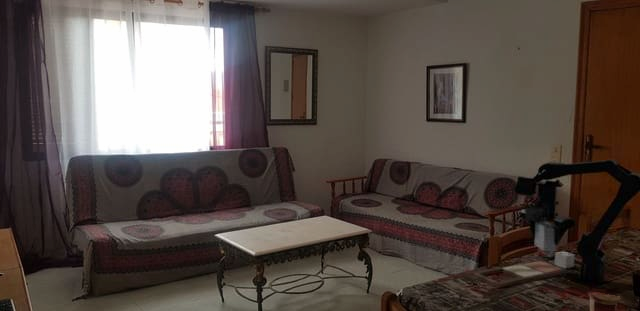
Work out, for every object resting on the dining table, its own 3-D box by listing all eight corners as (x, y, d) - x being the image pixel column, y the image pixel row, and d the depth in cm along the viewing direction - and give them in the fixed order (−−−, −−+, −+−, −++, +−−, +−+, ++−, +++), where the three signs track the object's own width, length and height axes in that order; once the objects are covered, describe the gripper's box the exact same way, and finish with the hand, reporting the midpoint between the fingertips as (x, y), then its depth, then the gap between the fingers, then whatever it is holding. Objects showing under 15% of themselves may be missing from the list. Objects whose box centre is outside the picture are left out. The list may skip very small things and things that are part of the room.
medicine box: (556, 251, 169) (557, 227, 168) (543, 251, 169) (544, 227, 168) (546, 245, 177) (547, 221, 176) (533, 245, 177) (534, 221, 176)
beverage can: (557, 258, 186) (559, 228, 185) (539, 257, 188) (541, 227, 186) (552, 254, 192) (554, 224, 191) (535, 252, 194) (537, 223, 192)
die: (573, 266, 177) (574, 254, 177) (565, 268, 175) (566, 256, 175) (562, 263, 181) (563, 251, 181) (554, 264, 179) (555, 252, 179)
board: (567, 273, 170) (567, 269, 170) (497, 287, 156) (497, 284, 156) (538, 263, 181) (539, 259, 181) (471, 275, 167) (471, 272, 167)
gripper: (509, 195, 176) (507, 237, 177) (554, 205, 159) (551, 251, 161) (531, 193, 181) (529, 234, 182) (577, 202, 164) (574, 247, 165)
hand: (545, 241), depth 173 cm, fingers closed on medicine box, 9 cm apart
